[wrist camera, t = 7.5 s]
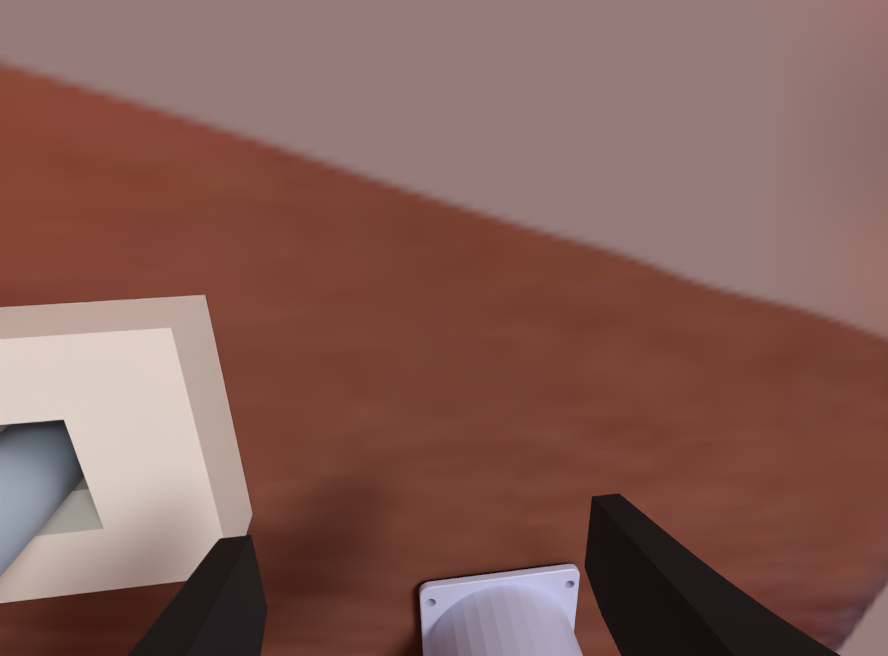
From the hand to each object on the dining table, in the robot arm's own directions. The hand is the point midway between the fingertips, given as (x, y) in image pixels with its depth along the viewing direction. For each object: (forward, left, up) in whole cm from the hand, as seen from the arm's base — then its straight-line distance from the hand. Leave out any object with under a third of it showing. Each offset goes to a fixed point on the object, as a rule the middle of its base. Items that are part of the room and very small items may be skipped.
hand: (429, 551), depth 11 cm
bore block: (-2, +13, -10) cm, 16 cm away
